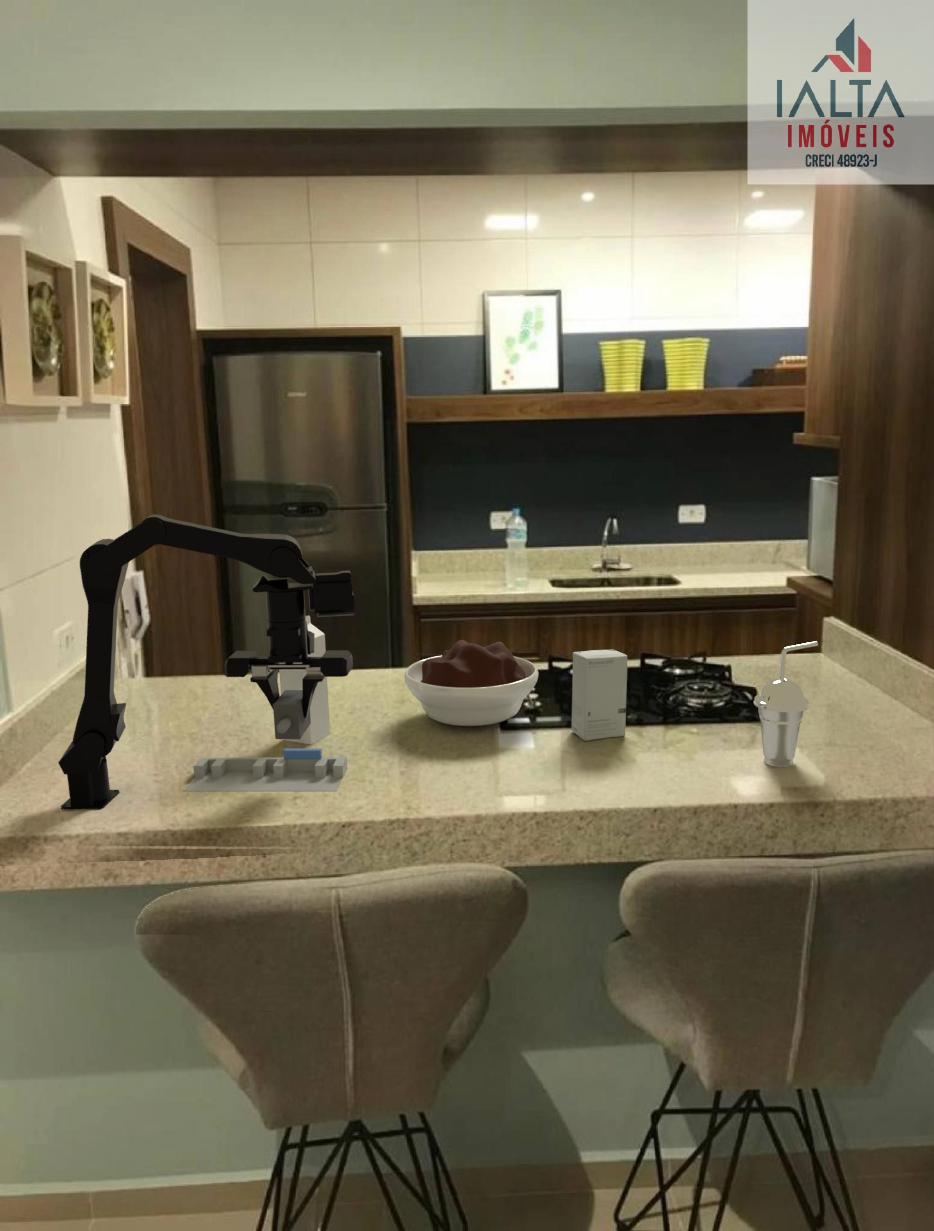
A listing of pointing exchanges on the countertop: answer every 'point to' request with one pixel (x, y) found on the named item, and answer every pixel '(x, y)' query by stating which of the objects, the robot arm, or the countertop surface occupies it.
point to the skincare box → (599, 694)
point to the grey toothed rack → (270, 772)
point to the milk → (319, 704)
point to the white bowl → (471, 684)
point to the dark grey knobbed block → (290, 715)
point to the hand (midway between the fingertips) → (292, 717)
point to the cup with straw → (781, 715)
